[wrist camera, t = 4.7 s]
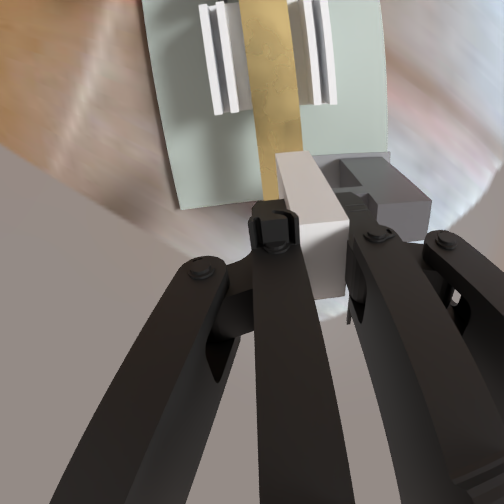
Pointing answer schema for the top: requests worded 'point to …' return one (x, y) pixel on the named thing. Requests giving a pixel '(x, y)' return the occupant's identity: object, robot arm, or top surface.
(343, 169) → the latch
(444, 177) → the top surface
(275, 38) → the strap
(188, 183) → the board
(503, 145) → the top surface
